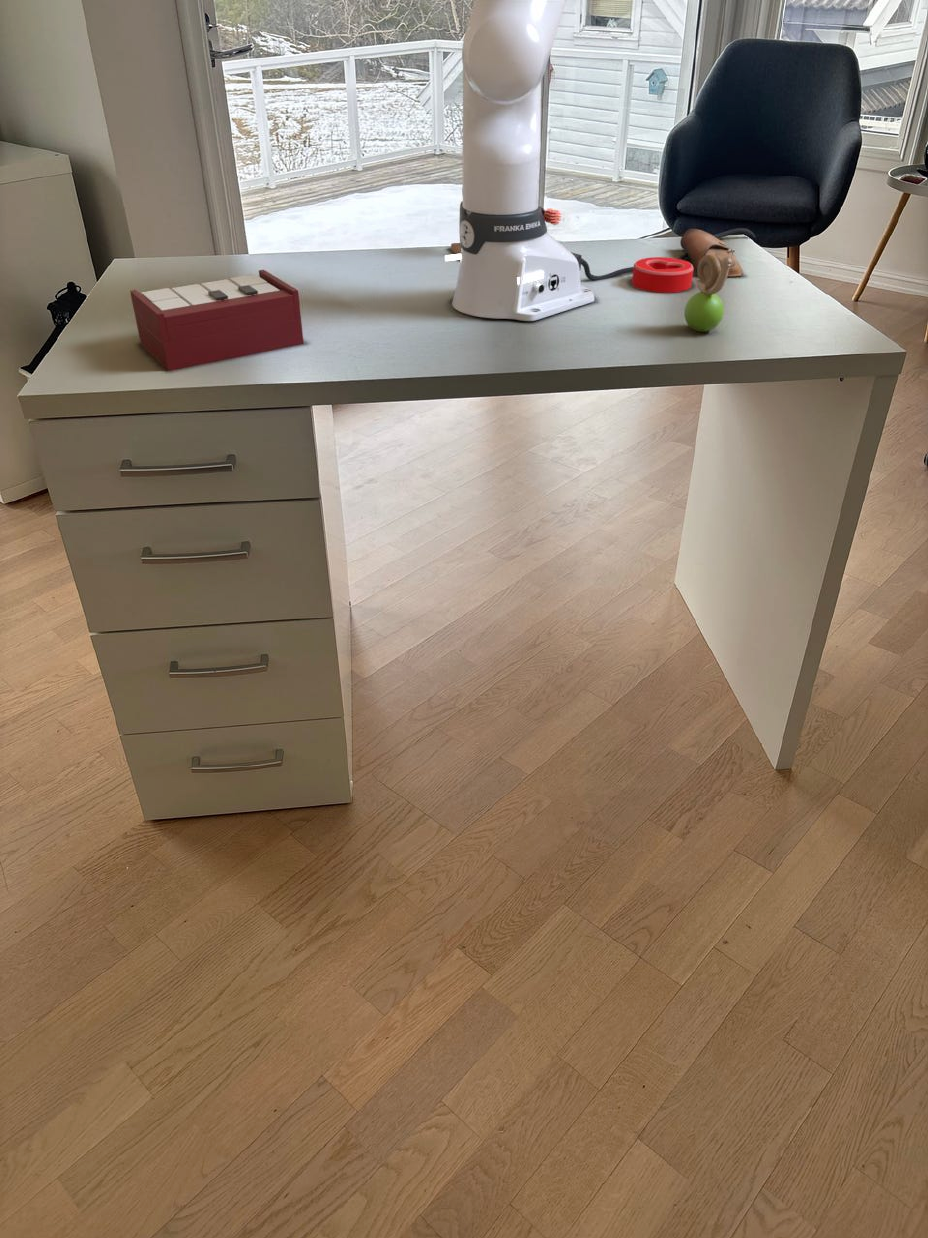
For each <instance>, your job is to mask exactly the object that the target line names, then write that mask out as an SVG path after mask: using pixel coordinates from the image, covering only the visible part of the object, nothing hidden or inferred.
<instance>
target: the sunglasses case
mask: <svg viewBox="0 0 928 1238" xmlns="http://www.w3.org/2000/svg"><path fill="white" fill-rule="evenodd" d="M713 235H714V234H711V233H709V232H707V231H704V230H701V229H697V228H690V229H687V230H686V231H684V233H683V234H682V235H681V238H680V241H679V242H680V243H679V244H680V247H681V249H682V250H684V252H685V253H687V254H688V256H689V257H688V258H689V259H690V261H691V264H692V265H693V267H694V269H695V270H697V268H698V264H699V261H700V260H701V258H702V257H703V256H705V255H713V256H715V257H716V258H717V259H718V261H719V263H720V266H721V267H722V260H723V258H725V257H729V258H731V257H732V259H731V260H732V264H731V266H730V268H729V272H728V275H727V278H732V277H733V278H734V277H741V276H744V270H743V268H742V267H741V265H740V262H739V261H738V260H737V258H736V257H735V255H734V254H733V255H732V253H731V252H730V253H729V256H728V253H727V250H728V249H730V250H731V248H730V245H728V244H727V243H725V242H724V241H722V240H721V239H720V238H719V239H717V238H716V237H714V236H713Z"/></svg>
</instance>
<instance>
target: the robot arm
mask: <svg viewBox="0 0 928 1238" xmlns="http://www.w3.org/2000/svg"><path fill="white" fill-rule="evenodd" d="M566 1H567V0H474V3H473V6H472V10H471V15H470V18H469V20H468V24H467V27H466V30H465V31H464V36H463V42H462V48H461V52H462V53H461V61H462V187H463V196H462V201H463V205H462V206H461V207H460V206H459V230H458V231H459V243H460V244H461V254H455V253H454V254H447V255H444V260H445V262H450V261H459V260H460V261H459V267H458V268H459V269H458V275H457V282H456V287H455V291H454V293H453V294H454V295H453V298H452V301H451V305H452V308H453V309H454V310H457V311H458V312H460V313H462V314H465V315H468V316H473V317H478V318H484V319H497V320H498V319H501V320H502V319H506V320H507V319H508V320H517V321H523V322H536V321H538V320H542V319H544V318H547V317H550V316H554V315H557V314H560V313H563V312H566V311H570V310H572V309H576V308H578V307H582V306H585V305H588V304H591V303H593V302H595V294H594V292H593V291H592V289H590V288H589V287H587V286H585V285H582V283H581V269H582V268H581V267H583V270H584V275H585V277H586V278H587V279H588V280H589V281H591V282H592V281H593V282H596V281H603V280H608V279H612V278H616V277H618V276H621V275H624V274H629V273H633V268H634V266H631V267H630V266H629V267H624V268H620V269H618V270H615V271H612V272H609V273H607V274H604V275H594V274H592V273H591V269H590V264H589V263H588V262H587V261H586V260H585V259H584V258H582V254H579V253H575V252H572V251H570V250H568V249H567V248H566V246H564V245H562V243H560V242H559V241H558V240H557V239H556V238H555V237H553V235H552V234H550V233H549V232H548V228H547V224H546V223H548V224H551V225H553V226H556V225H558V224H560V221H561V218H562V213H561V211H560V210H557V209H553V208H551V207H549V208H547V209H546V210H545V208H544V207H542V206H540V205H539V195H540V173H541V153H542V151H541V149H542V141H541V139H542V137H541V136H542V135H541V134H542V133H541V130H542V129H541V127H542V126H541V122H542V121H541V120H542V116H541V115H542V79H543V78H544V75H545V72H546V69H547V66H548V63H549V59H550V55H551V52H552V49H553V45H554V42H555V39H556V36H557V32H558V28H559V25H560V22H561V18H562V15H563V12H564V7H565V4H566ZM735 234H736V235H737V234H745V235H747V236H748V237H749V238H751V239H755V238H756V235H755V233H754V232H753V231H751V230H750V229H748V228H743V227H741V228H732V229H728V230H726V231H722V232H719V233H715V234H712V235H713V236H714V237H716V238H717V239H719V240H720V239H721V238H726V237H727V236H731V235H735ZM688 258H690V257H689V256H688V254H687V253H686V252H685V253H682V254H681V255H679V256H677V257H676V258H675V259H680V260H684V261H685V260H686V259H688Z"/></svg>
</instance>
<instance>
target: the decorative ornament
mask: <svg viewBox="0 0 928 1238" xmlns="http://www.w3.org/2000/svg"><path fill="white" fill-rule="evenodd" d="M633 267H634V268H633V272H632V280H631V285H632V286H633V287H634V288H637V289H639V290H642V291H645V292H649V293H650V292H651V293H661V294H662V293H664V294H670V293H671V294H672V293H680V292H685V291H688V290H690V289H691V287H692V284H693V276H694V270H695V267H694V264H693V263H692V262H689V261H687V260H685V259H684V260H680V259H675V258H674V257H665V256H655V257H654V256H653V257H645V258H641V259H638V260H636V261H635V263H634V264H633Z"/></svg>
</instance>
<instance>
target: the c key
mask: <svg viewBox="0 0 928 1238" xmlns="http://www.w3.org/2000/svg"><path fill="white" fill-rule="evenodd" d="M229 281H230V282H232V283H233V284H235V285H236V286H238V287H240V286H247V285H249V286H253V285H259V284H265V283H267V281H265V280H263V279H262V278H260V277H259V275H257V274H255V273H253V274H246V275H241V276H235V277H230V278H229Z"/></svg>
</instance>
